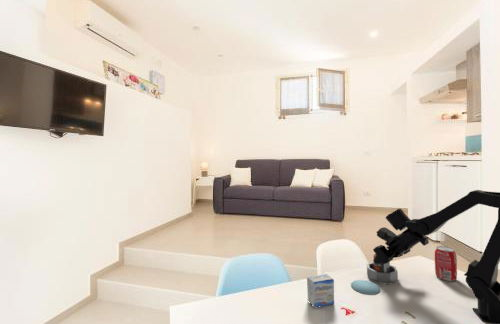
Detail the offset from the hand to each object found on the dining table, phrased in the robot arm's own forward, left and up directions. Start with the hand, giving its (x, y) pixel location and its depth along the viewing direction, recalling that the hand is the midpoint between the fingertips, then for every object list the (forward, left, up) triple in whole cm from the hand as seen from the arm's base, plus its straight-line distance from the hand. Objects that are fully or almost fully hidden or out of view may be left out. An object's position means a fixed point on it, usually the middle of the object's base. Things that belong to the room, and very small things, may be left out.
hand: (378, 260), depth 104 cm
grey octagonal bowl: (-1, -1, -7) cm, 7 cm away
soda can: (+6, -25, -7) cm, 27 cm away
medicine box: (-28, +21, -7) cm, 35 cm away
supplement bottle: (-1, -1, -7) cm, 7 cm away
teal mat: (-12, +6, -7) cm, 15 cm away
